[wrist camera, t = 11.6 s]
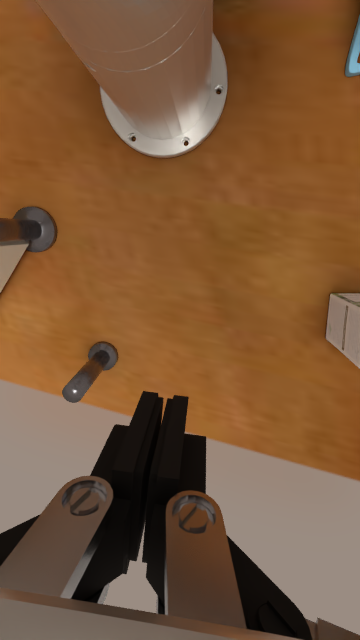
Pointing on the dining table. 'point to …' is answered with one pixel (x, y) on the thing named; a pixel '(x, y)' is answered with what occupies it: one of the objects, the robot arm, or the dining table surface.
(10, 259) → the panel
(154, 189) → the dining table surface
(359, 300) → the syrup box
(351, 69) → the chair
